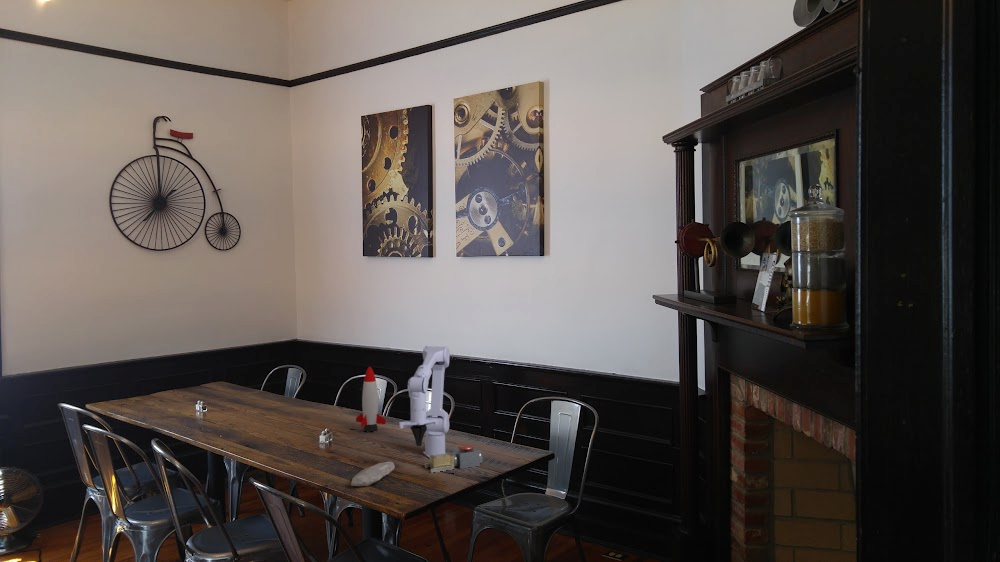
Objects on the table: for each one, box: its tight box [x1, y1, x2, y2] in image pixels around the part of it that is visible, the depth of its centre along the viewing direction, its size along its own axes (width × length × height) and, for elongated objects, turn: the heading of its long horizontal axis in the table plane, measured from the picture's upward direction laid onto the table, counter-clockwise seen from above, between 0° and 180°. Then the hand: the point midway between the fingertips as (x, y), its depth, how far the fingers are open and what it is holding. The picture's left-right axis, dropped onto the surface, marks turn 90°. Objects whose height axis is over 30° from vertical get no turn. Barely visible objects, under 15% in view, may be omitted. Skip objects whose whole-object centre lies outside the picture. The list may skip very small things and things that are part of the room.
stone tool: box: [350, 461, 396, 487], centre depth 252 cm, size 12×5×25 cm
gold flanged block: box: [429, 452, 455, 470], centre depth 263 cm, size 5×8×5 cm, turn 114°
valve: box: [424, 443, 484, 474], centre depth 265 cm, size 8×22×7 cm, turn 114°
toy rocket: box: [355, 366, 387, 433], centre depth 325 cm, size 11×11×30 cm
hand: (418, 445), depth 259 cm, fingers closed
